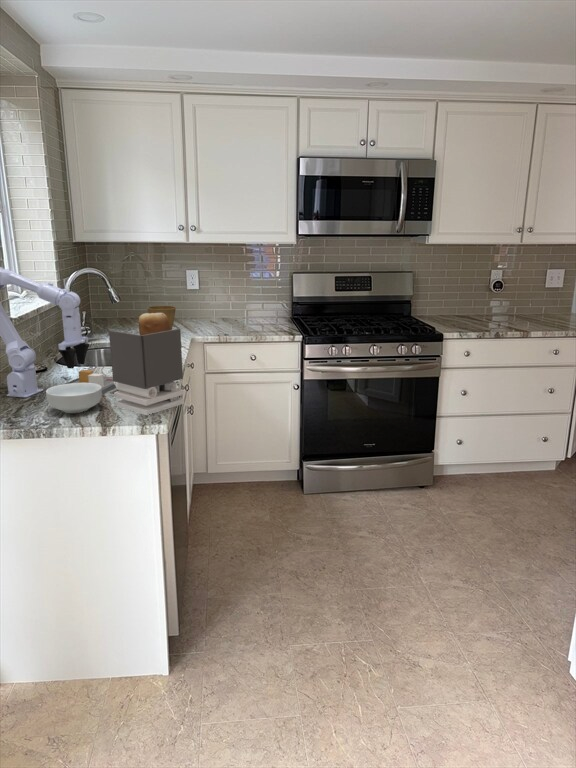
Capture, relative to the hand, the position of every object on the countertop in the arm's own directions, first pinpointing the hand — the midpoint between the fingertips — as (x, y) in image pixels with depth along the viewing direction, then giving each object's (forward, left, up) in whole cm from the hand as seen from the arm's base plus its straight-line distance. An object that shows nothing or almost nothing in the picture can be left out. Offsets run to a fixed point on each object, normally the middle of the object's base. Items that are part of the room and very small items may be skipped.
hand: (76, 366), depth 199 cm
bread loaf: (+29, -17, -10) cm, 35 cm away
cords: (+10, -2, -9) cm, 14 cm away
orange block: (+5, 0, -8) cm, 9 cm away
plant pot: (+108, +18, -10) cm, 109 cm away
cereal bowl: (-18, -11, -10) cm, 24 cm away
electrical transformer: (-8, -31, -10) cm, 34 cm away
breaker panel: (+6, -2, -9) cm, 11 cm away
